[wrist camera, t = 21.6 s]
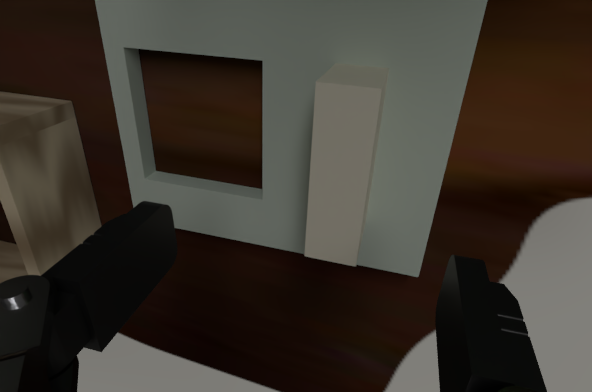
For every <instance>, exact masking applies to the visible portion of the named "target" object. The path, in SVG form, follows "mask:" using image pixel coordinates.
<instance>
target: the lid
mask: <svg viewBox="0 0 592 392" xmlns="http://www.w3.org/2000/svg"><path fill="white" fill-rule="evenodd" d="M95 3H96V8H97V13H98V19H99V24H100V30H101V35H102V40H103V46H104V51H105V56H106V62H107V67H108V73H109V78H110V83H111V89H112V94H113V100H114V105H115V110H116V116H117V121H118V126H119V132H120V137H121V143H122V148H123V153H124V159H125V164H126V170H127V175H128V180H129V186H130V191H131V196H132V202H133V207H135V206H136V205H138V204H139V203H140V202H142V201H148V202H154V203H160V204H166V205H169V206H170V208H171V210H172V214H173V221H174V228H179V229H184V230H189V231H194V232H198V233H203V234H208V235H213V236H218V237H223V238H228V239H233V240H238V241H243V242H248V243H253V244H258V245H262V246H267V247H272V248H277V249H282V250H287V251H292V252H297V253H302V254H305V255H304V256H306V257H311V258H316V259H320V260H325V261H330V262H335V263H340V264H345V265H350V266H355V267H356V265H361V266H366V267H371V268H376V269H381V270H385V271H390V272H395V273H400V274H405V275H410V276H415V277H418V276H419V272H420V268H421V264H422V260H423V256H424V252H425V248H426V244H427V240H428V236H429V232H430V228H431V224H432V220H433V216H434V212H435V208H436V204H437V200H438V196H439V192H440V188H441V184H442V180H443V176H444V172H445V168H446V164H447V160H448V156H449V152H450V148H451V144H452V140H453V136H454V132H455V128H456V124H457V120H458V116H459V112H460V108H461V104H462V100H463V96H464V92H465V88H466V84H467V80H468V76H469V72H470V68H471V64H472V60H473V56H474V52H475V48H476V44H477V40H478V36H479V32H480V28H481V24H482V20H483V16H484V12H485V8H486V4H487V0H95ZM138 49H147V50H157V51H168V52H178V53H188V54H199V55H209V56H219V57H230V58H240V59H251V60H261V61H263V189H258V188H252V187H247V186H241V185H235V184H229V183H223V182H217V181H211V180H206V179H200V178H194V177H188V176H182V175H176V174H170V173H165V172H159V171H156V167H155V160H154V154H153V147H152V140H151V133H150V126H149V119H148V112H147V106H146V99H145V92H144V85H143V78H142V71H141V64H140V57H139V51H138Z"/></svg>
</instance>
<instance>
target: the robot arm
mask: <svg viewBox="0 0 592 392" xmlns="http://www.w3.org/2000/svg"><path fill="white" fill-rule="evenodd" d="M176 256H177V241H176V234H175V228H174V221H173V214H172V210H171V208H170V206H169V205H166V204H160V203H154V202H148V201H142V202H140V203H139V204H138V205H136V206H135V207H134V208H133V209H132V210H130V211H129V212H128V213H127V214H123V215H121V216H119V217H117V218H115V219H112V220H110V221H108V222H106V223H105V224H104V225H103V226H101V227H100V228H99V229H98V230H97V231H95V232H94V235H90V236H89V237H88V238H87V239H85V240H84V241H83V244H79V245H78V246H77V247H76V248H74V249H73V250H72V251H71V252H69V253H68V254H67V255H66V256H64V257H63V258H62V259H61V260H59V261H58V262H57V263H56V264H55V265H53V266H52V267H51V268H50V269H48V270H47V271H46V272H45V273H43V274H42V275H41V276H39V275H24V276H19V277H15V278H12V279H9V280H6V281H4V282H2V283H0V392H77V383H78V368H79V361H78V358H77V354H78V353H79V352H80V351H81V350H82V349H83V347H85V348H88V349H93V350H96V351H100V352H102V351H103V349H104V348H105V347H106V346H107V345H108V343H109V342H110V341H111V340H112V339H113V337H114V336H115V335H116V334H117V332H118V331H119V330H120V329H121V328H122V326H123V325H124V324H125V323H126V322H127V320H128V319H129V318H130V317H131V315H132V314H133V313H134V312H135V311H136V309H137V308H138V307H139V306H140V305H141V303H142V302H143V301H144V300H145V299H146V297H147V296H148V295H149V294H150V292H151V291H152V290H153V289H154V288H155V286H156V285H157V284H158V283H159V282H160V280H161V279H162V278H163V277H164V275H165V274H166V273H167V272H168V271H169V269H170V268H171V267H172V265H173V264H174V262H175V259H176ZM436 337H437V351H438V367H439V382H440V392H547V390H546V387H545V384H544V381H543V378H542V375H541V371H540V368H539V365H538V362H537V359H536V356H535V353H534V350H533V346H532V343H531V340H530V337H528V331H527V328H526V325H525V322H523V316H522V312H521V309H520V306H519V303H518V301H517V299H516V298H515V297H514V296H513V295H512V293H511V292H510V291H509V290H508V289H507V287H506V286H505V285H504V284H500V283H495V282H489V278H488V274H487V270H486V266H485V262H484V261H483V260H480V259H474V258H468V257H463V256H457V255H452V256H451V257H450V259H449V262H448V266H447V269H446V273H445V276H444V280H443V283H442V287H441V290H440V294H439V297H438V301H437V307H436Z"/></svg>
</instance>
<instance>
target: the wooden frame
mask: <svg viewBox="0 0 592 392" xmlns="http://www.w3.org/2000/svg"><path fill="white" fill-rule="evenodd" d="M0 201H1V203H2V206H3V209H4V211H5V214H6V217H7V219H8V222H9V225H10V227H11V230H12V233H13V235H14V238H15V241H16V243H17V244H13V243H8V242H4V241H0V283H2V282H4V281H6V280H9V279H12V278H15V277H19V276H24V275H39V276H41V275H42V274H43V273H45V272H46V271H47V270H48V269H50V268H51V267H52V266H53V265H55V264H56V263H57V262H58V261H59V260H61V259H62V258H63V257H64V256H66V255H67V254H68V253H69V252H71V251H72V250H73V249H74V248H76V247H77V246H78V245H79V244H83V241H84V240H85V239H87V238H88V237H89V236H90V235H94V232H95V231H97V230H98V229H99V228H100V227H101V222H100V217H99V213H98V209H97V205H96V201H95V196H94V192H93V188H92V184H91V180H90V175H89V171H88V167H87V163H86V159H85V154H84V150H83V146H82V142H81V138H80V133H79V129H78V125H77V121H76V117H75V112H74V108H73V104H72V101H67V100H60V99H52V98H45V97H37V96H30V95H22V94H15V93H8V92H0Z"/></svg>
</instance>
